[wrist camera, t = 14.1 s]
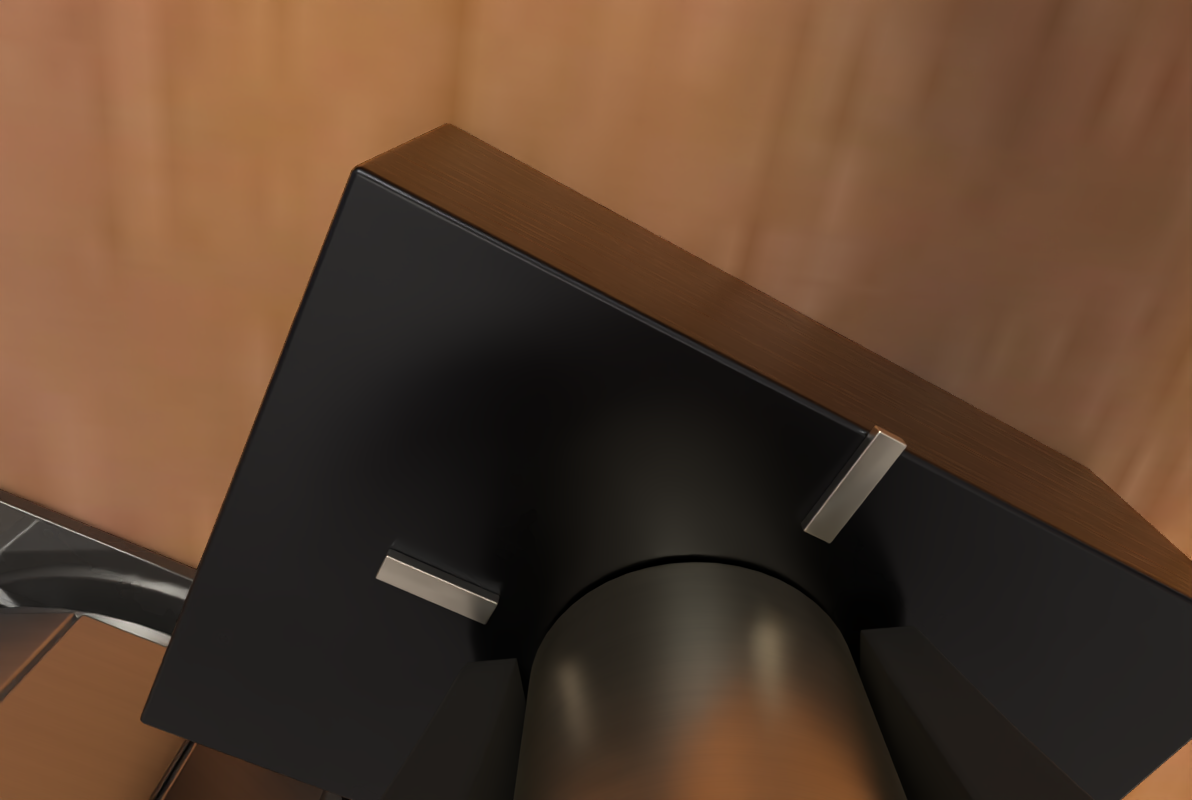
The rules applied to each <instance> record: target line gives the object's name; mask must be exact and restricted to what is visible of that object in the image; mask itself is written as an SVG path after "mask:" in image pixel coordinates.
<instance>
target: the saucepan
mask: <svg viewBox="0 0 1192 800" xmlns="http://www.w3.org/2000/svg"><path fill="white" fill-rule="evenodd" d="M170 638H171V635H170V634H168V633H165V632H162V631H159V630H156V629H153V628H150V627H147V626H144V625H141V624H138V623H135V622H132V621H128V620H124V619H120V618H116V617H111V616H107V615H103V614H99V613H93V612H86V611H79V610H72V609H65V608H52V607H27V606H23V607H9V608H0V800H342V798H341V796H338V795H335V794H333V793H330V792H327V791H324V790H322V789H319V788H316V787H314V786H311V785H308V784H306V783H303V782H300V781H297V780H295V779H292V778H289V777H287V776H284V775H281V774H278V773H276V772H273V771H270V770H268V769H265V768H262V767H260V766H257V765H254V764H251V763H249V762H246V761H243V760H241V759H238V758H235V757H232V756H230V755H227V754H224V753H222V752H219V751H216V750H213V749H211V748H208V747H205V746H203V745H200V744H197V743H195V742H192V741H189V740H186V739H184V738H181V737H178V736H176V735H173V734H170V733H167V732H165V731H162V730H159V729H157V728H154V727H151V726H148V725H146V724H143V723H142V722H141V721H140V717H141V713H142V710H143V708H144V705H145V703H146V700H147V697H148V695H149V692H150V690H151V687H152V684H153V682H154V679H155V677H156V674H157V672H158V669H159V666H160V664H161V661H162V659H163V656H164V653H165V651H166V648H167V646H168V643H169V641H170Z"/></svg>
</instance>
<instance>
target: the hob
mask: <svg viewBox="0 0 1192 800" xmlns="http://www.w3.org/2000/svg"><path fill="white" fill-rule="evenodd" d="M196 571H197V569H194V568H192V567H189V566H187V565H185V564H182V563H180V562H177V561H175V560H172V559H170V558H167V557H165V556H162V555H160V554H158V553H155V552H153V551H150V550H148V549H145V548H143V547H140V546H138V545H136V544H133V543H131V542H128V541H126V540H123V539H121V538H118V537H116V536H114V535H111V534H109V533H106V532H104V531H101V530H99V529H96V528H94V527H92V526H89V525H87V524H84V523H82V522H79V521H77V520H74V519H72V518H69V517H67V516H65V515H62V514H60V513H57V512H55V511H52V510H50V509H47V508H45V507H43V506H40V505H38V504H35V503H33V502H30V501H28V500H25V499H23V498H21V497H18V496H16V495H13V494H11V493H8V492H6V491H3V490H1V489H0V608H9V607H23V606H27V607H52V608H65V609H72V610H79V611H86V612H93V613H99V614H103V615H107V616H111V617H116V618H120V619H124V620H128V621H132V622H135V623H138V624H141V625H144V626H147V627H150V628H153V629H156V630H159V631H162V632H165V633H168V634H170V635H172V633H173V630H174V628H175V625H176V622H177V620H178V617H179V615H180V612H181V610H182V607H183V604H184V602H185V599H186V597H187V594H188V591H189V589H190V586H191V584H192V581H193V579H194V576H195V573H196ZM341 798H342V800H349V799H346V798H343V797H341Z"/></svg>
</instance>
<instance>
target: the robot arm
mask: <svg viewBox="0 0 1192 800" xmlns="http://www.w3.org/2000/svg"><path fill="white" fill-rule="evenodd" d="M860 679H861V681H862V684H863V686H864V689H865V692H866V694H867V697H868V699H869V702H870V705H871V707H872V710H873V712H874V715H875V718H876V720H877V723H878V725H879V728H880V730H881V733H882V736H883V738H884V741H885V743H886V746H887V749H888V751H889V754H890V756H891V759H892V762H893V764H894V767H895V769H896V772H897V774H898V777H899V780H900V782H901V785H902V787H903V790H904V793H905V795H906V798H907V800H1095V799H1093V798H1092V797H1091V796H1090V795H1089V794H1088V793H1087V792H1086V791H1084V790H1083V789H1082V788H1081V787H1080V786H1079V785H1078V784H1077V783H1076V782H1074V781H1073V780H1072V779H1071V778H1070V777H1069V776H1068V775H1067V774H1066V773H1065V772H1064V771H1063V770H1061V769H1060V768H1059V767H1058V766H1057V765H1056V764H1055V763H1054V762H1053V761H1052V760H1051V759H1050V758H1048V757H1047V756H1046V755H1045V754H1044V753H1043V752H1042V751H1041V750H1040V749H1039V748H1038V747H1037V746H1035V745H1034V744H1033V743H1032V742H1031V741H1030V740H1029V739H1028V738H1027V737H1026V736H1025V735H1024V734H1023V733H1022V732H1021V731H1020V730H1018V729H1017V728H1016V727H1015V726H1014V725H1013V724H1012V723H1011V722H1010V721H1009V720H1008V719H1007V718H1006V717H1005V716H1004V715H1003V714H1002V713H1001V712H1000V711H999V710H998V709H997V708H996V707H995V706H994V705H993V704H992V703H991V702H990V701H989V700H988V699H987V698H986V697H985V696H984V695H983V694H982V693H981V692H980V691H979V690H978V689H977V688H976V687H975V686H974V685H973V684H972V683H971V682H970V681H969V680H968V679H967V678H966V677H965V676H964V675H963V674H962V673H961V672H960V671H959V670H958V669H957V668H956V667H955V666H954V665H953V664H952V663H951V662H950V661H949V660H948V659H947V658H946V657H945V656H944V655H943V654H942V653H941V652H940V651H939V650H938V649H937V648H936V647H935V645H934V644H933V643H932V642H931V641H930V640H929V639H928V638H927V637H926V636H925V635H924V634H923V633H922V632H921V631H919V630H918V629H917V628H916V627H914V626H905V627H892V628H880V629H868V630H861V633H860ZM525 711H526V700H525V695H524V691H523V686H522V681H521V676H520V672H519V667H518V662H517V658H514V659H502V660H490V661H477V662H468V663H467V664H466V665H465V666H464V667H463V668H462V669H461V670H460V672H459V674H458V675H457V677H456V679H455V680H454V682H453V684H452V685H451V687H450V689H449V691H448V692H447V694H446V696H445V697H444V699H443V701H442V702H441V704H440V706H439V707H438V709H437V711H436V712H435V714H434V716H433V717H432V719H431V721H430V722H429V724H428V725H427V727H426V729H425V730H424V732H423V734H422V735H421V737H420V738H419V740H418V741H417V743H416V745H415V746H414V748H413V749H412V751H411V753H410V754H409V756H408V757H407V759H406V761H405V762H404V764H403V765H402V767H401V768H400V770H399V771H398V773H397V774H396V776H395V777H394V779H393V780H392V782H391V783H390V785H389V786H388V788H387V789H386V791H385V792H384V794H383V795H382V797H381V798H380V800H514V792H515V785H516V778H517V770H518V763H519V755H520V748H521V740H522V733H523V726H524V718H525Z"/></svg>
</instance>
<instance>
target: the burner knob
mask: <svg viewBox="0 0 1192 800" xmlns="http://www.w3.org/2000/svg"><path fill="white" fill-rule="evenodd" d="M514 800H907V798H906V795H905V793H904V790H903V787H902V785H901V782H900V780H899V777H898V774H897V772H896V769H895V767H894V764H893V762H892V759H891V756H890V754H889V751H888V749H887V746H886V743H885V741H884V738H883V736H882V733H881V730H880V728H879V725H878V723H877V720H876V718H875V715H874V712H873V710H872V707H871V705H870V702H869V699H868V697H867V694H866V692H865V689H864V686H863V684H862V681H861V679H860V676H859V674H858V671H857V668H856V666H855V663H854V661H853V658H852V655H851V653H850V650H849V648H848V645H847V644H846V642H845V640H844V638H843V636H842V634H841V632H840V630H839V629H838V628H837V626H836V625H835V624H834V622H833V621H832V619H831V618H830V617H829V616H828V615H827V614H826V613H825V612H824V611H823V610H822V609H821V608H820V607H819V606H818V605H817V604H816V603H815V602H814V601H812V600H811V599H810V598H808V597H807V596H806V595H804V594H803V593H802V592H800V591H799V590H797V589H796V588H794V587H792V586H790V585H788V584H787V583H785V582H783V581H781V580H779V579H777V578H774V577H772V576H769V575H767V574H764V573H762V572H759V571H755V570H751V569H748V568H744V567H740V566H735V565H728V564H721V563H711V562H683V563H670V564H664V565H658V566H653V567H648V568H644V569H641V570H637V571H634V572H631V573H627V574H625V575H622V576H620V577H618V578H615V579H613V580H610V581H608V582H606V583H604V584H602V585H601V586H599V587H597V588H595V589H594V590H592V591H590V592H588V593H587V594H586V595H584V596H583V597H582V598H580V599H579V600H578V601H576V602H575V603H574V604H572V605H571V606H570V607H569V608H568V609H567V610H566V611H565V612H564V613H563V614H562V615H561V616H560V617H559V618H558V619H557V621H556V622H555V623H554V625H553V626H552V627H551V629H550V630H549V631H548V633H547V634H546V636H545V637H544V639H543V641H542V643H541V645H540V647H539V648H538V650H537V653H536V656H535V659H534V662H533V665H532V669H531V675H530V681H529V688H528V696H527V703H526V711H525V718H524V726H523V733H522V740H521V748H520V755H519V763H518V770H517V778H516V785H515V792H514Z"/></svg>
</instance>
